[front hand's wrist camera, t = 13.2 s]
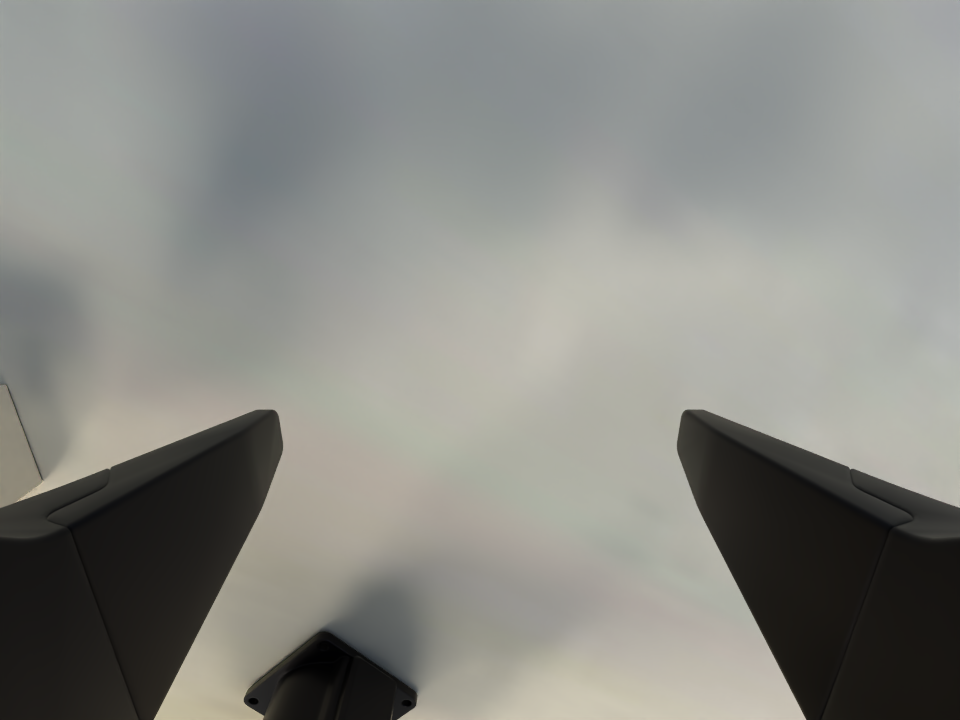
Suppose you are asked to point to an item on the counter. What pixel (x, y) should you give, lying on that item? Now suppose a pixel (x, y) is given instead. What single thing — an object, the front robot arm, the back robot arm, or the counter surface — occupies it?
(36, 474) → the light grey cube-like block
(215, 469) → the front robot arm
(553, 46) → the counter surface
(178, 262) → the counter surface
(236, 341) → the counter surface
